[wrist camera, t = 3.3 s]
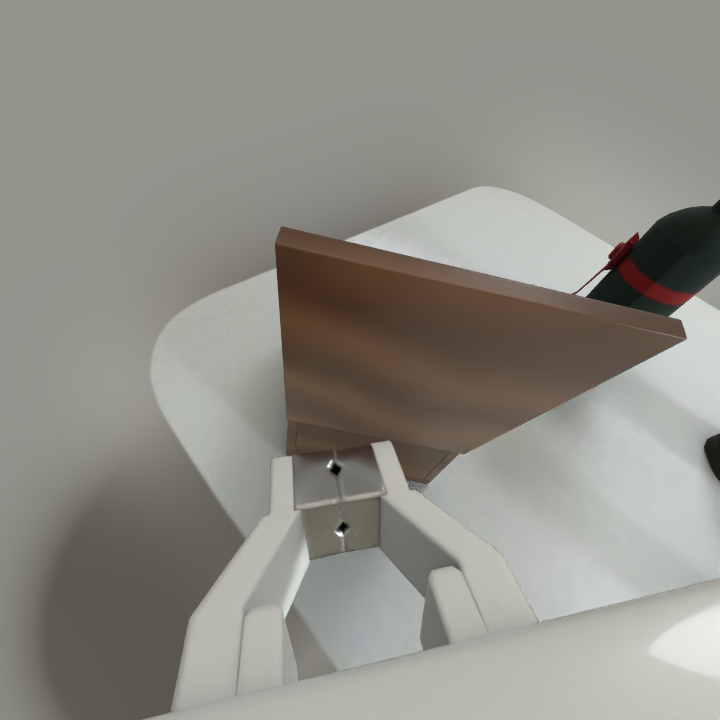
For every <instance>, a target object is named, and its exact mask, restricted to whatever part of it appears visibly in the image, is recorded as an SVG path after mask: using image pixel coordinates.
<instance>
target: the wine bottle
mask: <svg viewBox="0 0 720 720" xmlns="http://www.w3.org/2000/svg"><path fill="white" fill-rule="evenodd" d="M638 240H639V235H638V232H637V233H636V234H635V235H634V236H633V237H632V238H630V239H629V240H628V241H627V242H626V243H623V242H622V243H619V244H618V245H617V247H615V249H614V250H613V251H612V252H611V253H610V254H609V259H611V260H610V261H609V262H608V264H607V265H606V266H605V267H604V268H603V269H602V270H601V271H599V272H598V273H597V274H596V275H595V276H594V277H593V278H592V279H590V280H589V281H588V282H587V283H586V284H585V285H584V286H583V287H585V286H586V285H587V284H588V283H589V282H590V281H592V280H593V279H594V278H595V277H596V276H597V275H598V274H600V273H601V272H602V271H603V270H611V269H612V270H611V271H610V272H609V273H608V274H607V275H606V276H605V277H604V278H603V279H602V280H601V281H600V282H599V284H598V285H597V286H596V287H595V288H594V289H593V290H592V291H591V292H590V293H589V294H588V295H587V296H586V297H585V298H590V299H594V300H598V301H602V302H607V303H611V304H615V305H620V306H624V307H628V308H632V309H637V310H641V311H645V312H649V313H654V314H658V315H662V316H666V317H669V316H670V315H671V314H672V313H673V312H675V311H676V310H677V309H678V308H680V307H681V306H682V305H683V304H684V303H686V302H687V301H688V300H689V299H690V298H692V297H693V296H694V295H695V294H696V293H698V292H699V291H700V290H701V289H703V288H704V287H705V286H706V285H707V284H709V283H710V282H711V281H712V280H714V279H715V278H716V277H717V276H719V275H720V200H719V201H718V202H717V203H716V204H715V205H713V206H699V207H690V208H686V209H683V210H679V211H676V212H673V213H670V214H668V215H666V216H664V217H663V218H661V219H659V220H658V221H657V222H656V223H655V224H654V225H653V226H652V227H651V228H650V229H649V230H648V231H647V232H646V233H645V234H644V236H643V237H642V238H641V239H640V240H639V241H638ZM583 287H581V288H580V289H579V290H578V291H577V292H574V293H572V294H573V295H575V294H577V293H578V292H579V291H580V290H581V289H582V288H583Z"/></svg>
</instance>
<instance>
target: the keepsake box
mask: <svg viewBox="0 0 720 720" xmlns="http://www.w3.org/2000/svg"><path fill="white" fill-rule="evenodd" d="M388 440H389V439H384V438H379V437H373V436H368V435H363V434H358V433H353V432H348V431H343V430H338V429H333V428H327V427H322V426H317V425H312V424H307V423H302V422H297V421H292V420H288V430H287V448H286V456H293V455H297V454H304V453H312V452H320V451H328V450H333V449H340V448H346V447H352V446H358V445H364V444H371V443H376V442H382V441H388ZM389 441H390V442H391V443H392V445H393V447H394V450H395V453H396V455H397V458H398V461H399V463H400V466H401V468H402V471H403V474H404V476H405V479H406V480H411V481H416V482H421V483H427V484H429V483H430V482H431V481H432V480H433V479H434V478H435V477H436V476H437V475H438V474H439V473H440V472H441V471H442V470H443V469H444V468H445V467H446V466H447V465H448V464H449V463H450V462H451V461H452V460H453V459H454V458H455V457H456V456H457V455H458V454H459V453H455V452H450V451H445V450H440V449H435V448H430V447H425V446H419V445H414V444H409V443H404V442H399V441H394V440H389Z"/></svg>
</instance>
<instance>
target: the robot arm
mask: <svg viewBox="0 0 720 720" xmlns="http://www.w3.org/2000/svg"><path fill="white" fill-rule="evenodd" d="M379 546H380V549H381V550H382V551H383V552H384V553H385V554H386V556H387V557H388V558H389V559H390V560H391V561H392V562H393V563H394V564H395V566H396V567H397V568H398V569H399V570H400V571H401V572H402V573H403V575H404V576H405V577H406V578H407V579H408V580H409V581H410V582H411V583H412V585H413V586H414V587H415V588H416V589H417V590H418V591H419V592H420V593H421V595H422V596H423V597H424V598H425V605H424V612H423V619H422V626H421V634H420V640H421V643H422V647H423V651H420V652H416V653H411V654H407V655H403V656H399V657H395V658H391V659H387V660H383V661H379V662H375V663H370V664H366V665H362V666H358V667H354V668H350V669H346V670H342V671H338V672H334V673H330V674H325V675H321V676H317V677H313V678H309V679H305V680H301V681H298V673H297V664H296V661H295V657H294V653H293V649H292V645H291V641H290V637H289V634H288V630H287V626H286V622H285V618H286V615H287V613H288V611H289V609H290V606H291V604H292V602H293V600H294V597H295V595H296V593H297V591H298V588H299V586H300V584H301V582H302V579H303V577H304V575H305V573H306V570H307V568H308V566H309V564H310V560H313V559H317V558H322V557H326V556H330V555H335V554H339V553H344V552H349V551H355V550H361V549H367V548H373V547H379ZM142 720H720V578H718V579H714V580H710V581H706V582H702V583H698V584H694V585H690V586H686V587H682V588H678V589H673V590H669V591H665V592H661V593H657V594H653V595H649V596H645V597H641V598H637V599H632V600H628V601H624V602H620V603H616V604H612V605H608V606H604V607H600V608H596V609H592V610H587V611H583V612H579V613H575V614H571V615H567V616H563V617H559V618H555V619H551V620H546V621H542V622H539V620H538V618H537V617H536V615H535V613H534V611H533V609H532V607H531V606H530V604H529V602H528V600H527V598H526V596H525V595H524V593H523V591H522V589H521V587H520V585H519V584H518V582H517V580H516V578H515V576H514V574H513V573H512V571H511V569H510V567H509V565H508V563H507V562H506V560H505V558H504V556H503V554H502V553H501V552H499V551H498V550H496V549H495V548H494V547H492V546H491V545H490V544H488V543H487V542H486V541H484V540H483V539H482V538H480V537H479V536H478V535H476V534H475V533H474V532H472V531H471V530H470V529H468V528H467V527H465V526H464V525H463V524H461V523H460V522H459V521H457V520H456V519H455V518H453V517H452V516H451V515H449V514H448V513H447V512H445V511H444V510H443V509H441V508H440V507H439V506H437V505H436V504H435V503H433V502H432V501H430V500H429V499H428V498H426V497H425V496H424V495H422V494H421V493H420V492H418V491H417V490H410V489H409V487H408V484H407V481H406V479H405V476H404V474H403V471H402V468H401V466H400V463H399V461H398V458H397V455H396V453H395V450H394V447H393V445H392V443H391V442H390V441H389V440H388V441H382V442H376V443H371V444H364V445H358V446H352V447H346V448H340V449H333V450H328V451H320V452H312V453H304V454H297V455H293V456H285V457H276V458H272V460H271V463H270V489H269V515H267V516H262V517H261V519H260V520H259V521H258V523H257V524H256V526H255V527H254V528H253V530H252V531H251V533H250V534H249V535H248V537H247V538H246V540H245V541H244V542H243V544H242V545H241V547H240V548H239V549H238V551H237V552H236V554H235V555H234V557H233V558H232V559H231V561H230V562H229V564H228V565H227V566H226V568H225V569H224V571H223V572H222V573H221V575H220V576H219V578H218V579H217V580H216V582H215V583H214V585H213V586H212V587H211V589H210V590H209V592H208V593H207V595H206V596H205V597H204V599H203V600H202V601H201V603H200V604H199V606H198V607H197V608H196V610H195V611H194V613H193V614H192V616H191V617H190V618H189V623H188V628H187V633H186V638H185V643H184V648H183V653H182V658H181V662H180V668H179V672H178V677H177V682H176V687H175V692H174V697H173V702H172V708H171V712H170V713H166V714H162V715H158V716H154V717H150V718H146V719H142Z"/></svg>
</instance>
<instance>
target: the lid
mask: <svg viewBox="0 0 720 720" xmlns="http://www.w3.org/2000/svg"><path fill="white" fill-rule="evenodd" d="M275 252H276V267H277V282H278V296H279V311H280V325H281V340H282V354H283V368H284V383H285V397H286V412H287V420H292V421H297V422H302V423H307V424H312V425H317V426H322V427H327V428H333V429H338V430H343V431H348V432H353V433H358V434H363V435H368V436H373V437H379V438H384V439H389V440H394V441H399V442H404V443H409V444H414V445H419V446H425V447H430V448H435V449H440V450H445V451H450V452H455V453H460V454H465V453H467V452H469V451H471V450H473V449H475V448H477V447H479V446H481V445H483V444H485V443H487V442H489V441H491V440H493V439H494V438H496V437H498V436H500V435H502V434H504V433H506V432H508V431H510V430H512V429H514V428H516V427H518V426H520V425H522V424H524V423H525V422H527V421H529V420H531V419H533V418H535V417H537V416H539V415H541V414H543V413H545V412H547V411H549V410H551V409H553V408H555V407H556V406H558V405H560V404H562V403H564V402H566V401H568V400H570V399H572V398H574V397H576V396H578V395H580V394H582V393H584V392H586V391H587V390H589V389H591V388H593V387H595V386H597V385H599V384H601V383H603V382H605V381H607V380H609V379H611V378H613V377H615V376H617V375H618V374H620V373H622V372H624V371H626V370H628V369H630V368H632V367H634V366H636V365H638V364H640V363H642V362H644V361H646V360H648V359H649V358H651V357H653V356H655V355H657V354H659V353H661V352H663V351H665V350H667V349H669V348H671V347H673V346H675V345H677V344H679V343H680V342H682V341H684V340H686V339H687V336H686V333H685V330H684V327H683V324H682V321H681V320H679V319H675V318H671V317H666V316H662V315H658V314H654V313H649V312H645V311H641V310H637V309H632V308H628V307H624V306H620V305H615V304H611V303H607V302H602V301H598V300H594V299H590V298H585V297H581V296H577V295H573V294H568V293H564V292H560V291H556V290H551V289H547V288H543V287H538V286H534V285H530V284H526V283H521V282H517V281H513V280H509V279H504V278H500V277H496V276H492V275H487V274H483V273H479V272H475V271H470V270H466V269H462V268H457V267H453V266H449V265H445V264H440V263H436V262H432V261H428V260H423V259H419V258H415V257H411V256H406V255H402V254H398V253H393V252H389V251H385V250H381V249H376V248H372V247H368V246H364V245H359V244H355V243H351V242H347V241H342V240H338V239H334V238H329V237H325V236H321V235H317V234H312V233H308V232H304V231H299V230H295V229H291V228H287V227H281V228H280V231H279V234H278V237H277V239H276V242H275Z"/></svg>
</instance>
